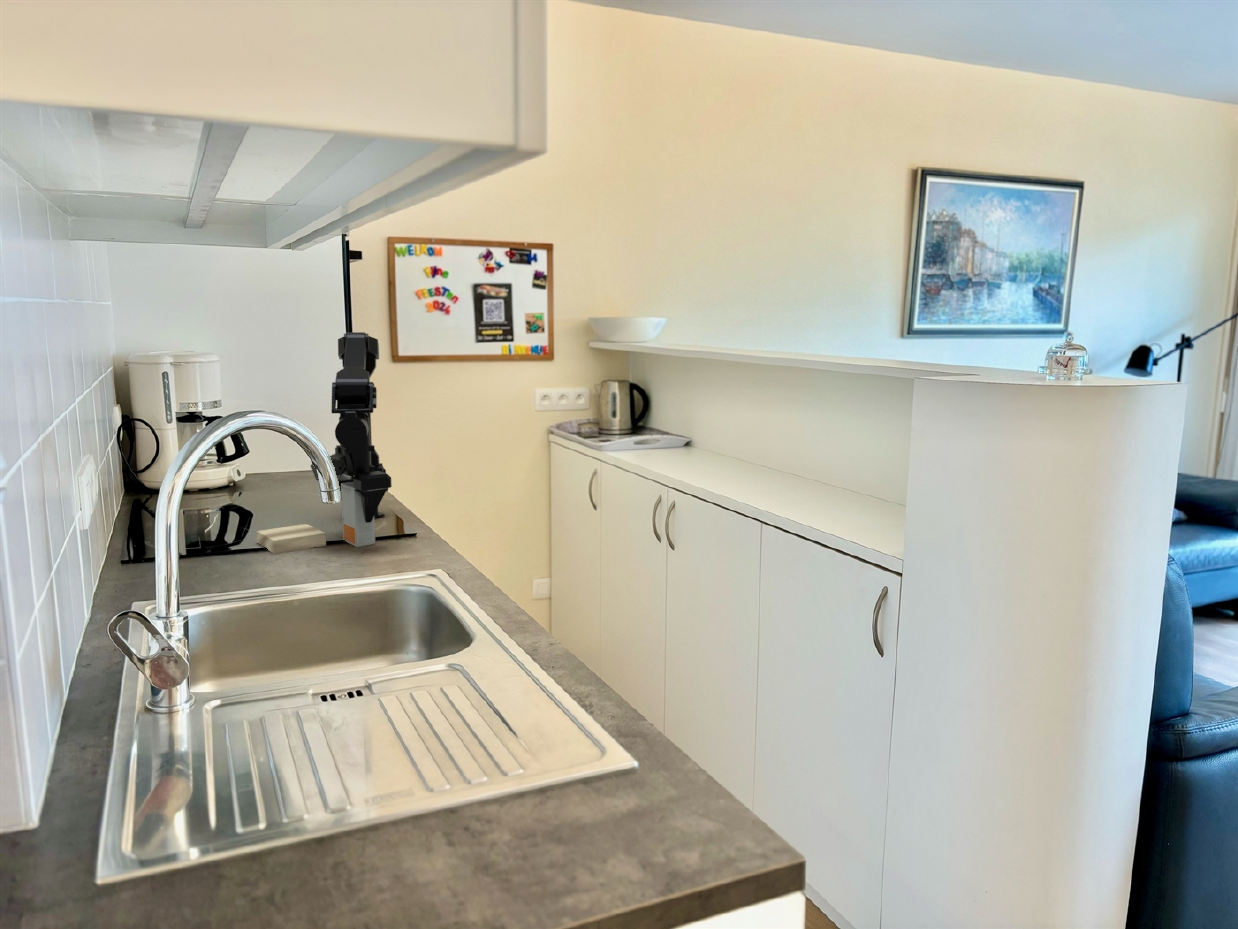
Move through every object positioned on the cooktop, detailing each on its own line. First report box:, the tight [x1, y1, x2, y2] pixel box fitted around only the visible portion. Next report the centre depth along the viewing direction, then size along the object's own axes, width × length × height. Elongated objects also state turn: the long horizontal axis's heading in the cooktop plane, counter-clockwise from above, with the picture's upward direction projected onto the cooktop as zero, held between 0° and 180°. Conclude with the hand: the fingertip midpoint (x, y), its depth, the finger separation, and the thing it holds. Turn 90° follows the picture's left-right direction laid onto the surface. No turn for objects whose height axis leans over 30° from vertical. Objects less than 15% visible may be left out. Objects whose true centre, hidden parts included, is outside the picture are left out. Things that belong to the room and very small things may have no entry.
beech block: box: [255, 523, 327, 555], centre depth 178 cm, size 10×10×3 cm
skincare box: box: [340, 482, 376, 548], centre depth 179 cm, size 6×4×12 cm
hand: (358, 518), depth 179 cm, fingers open, 9 cm apart
